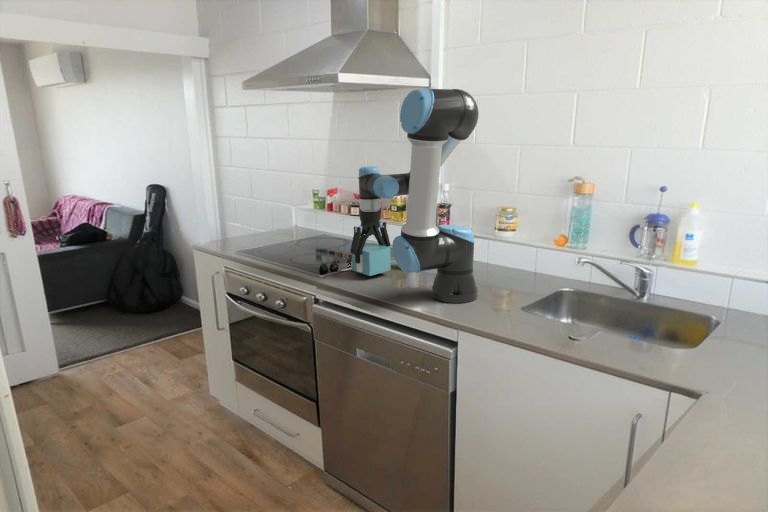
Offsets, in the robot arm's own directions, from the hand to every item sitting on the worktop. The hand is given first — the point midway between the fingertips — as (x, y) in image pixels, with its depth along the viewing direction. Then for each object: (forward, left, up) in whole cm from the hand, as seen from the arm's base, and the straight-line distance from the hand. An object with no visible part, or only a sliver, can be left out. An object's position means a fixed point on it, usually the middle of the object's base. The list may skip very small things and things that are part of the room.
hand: (371, 268), depth 194 cm
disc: (+16, 0, -3) cm, 16 cm away
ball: (+8, 0, 0) cm, 8 cm away
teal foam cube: (0, 0, -1) cm, 1 cm away
